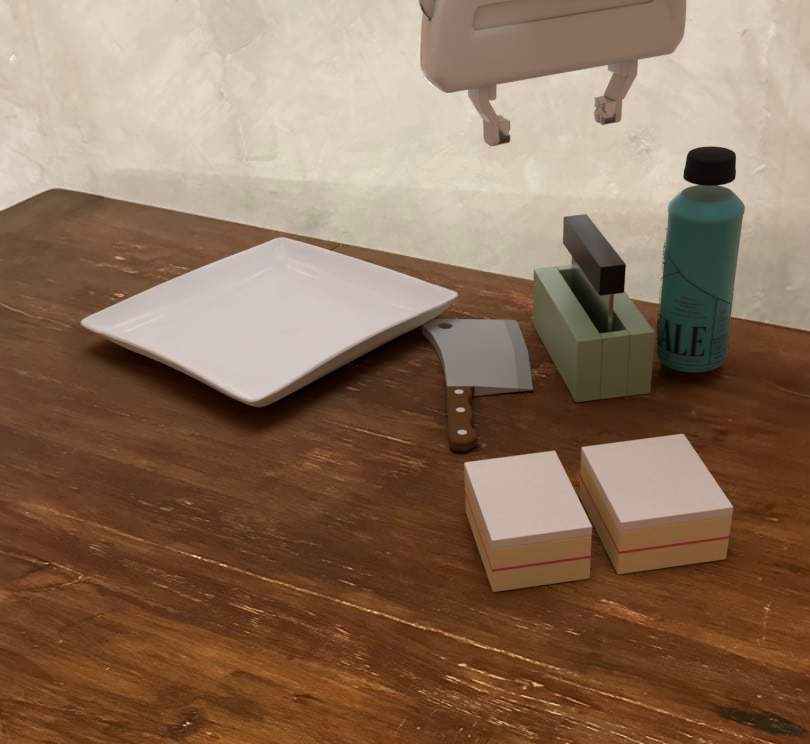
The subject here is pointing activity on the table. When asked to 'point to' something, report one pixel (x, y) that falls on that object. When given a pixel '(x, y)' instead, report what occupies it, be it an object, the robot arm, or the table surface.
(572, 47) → the robot arm
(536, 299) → the cutter stand
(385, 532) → the table surface
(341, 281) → the square plate
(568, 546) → the cake slice
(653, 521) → the cake
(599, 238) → the cake cutter
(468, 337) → the kitchen cleaver
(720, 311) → the beverage bottle
